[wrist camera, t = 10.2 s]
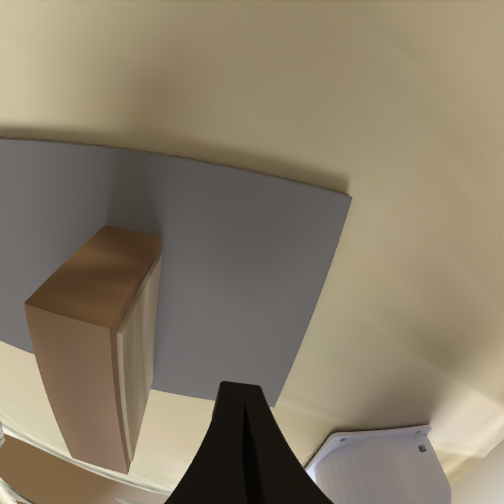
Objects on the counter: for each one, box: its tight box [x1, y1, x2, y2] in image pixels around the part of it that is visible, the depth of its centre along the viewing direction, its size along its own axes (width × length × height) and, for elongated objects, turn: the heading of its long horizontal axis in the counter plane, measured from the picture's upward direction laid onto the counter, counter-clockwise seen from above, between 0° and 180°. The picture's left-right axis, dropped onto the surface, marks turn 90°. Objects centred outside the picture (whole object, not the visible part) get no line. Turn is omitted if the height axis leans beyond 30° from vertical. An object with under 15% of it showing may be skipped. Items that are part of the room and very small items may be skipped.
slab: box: [24, 226, 163, 474], centre depth 11 cm, size 3×8×6 cm, turn 167°
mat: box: [0, 138, 352, 407], centre depth 13 cm, size 18×12×1 cm, turn 77°
